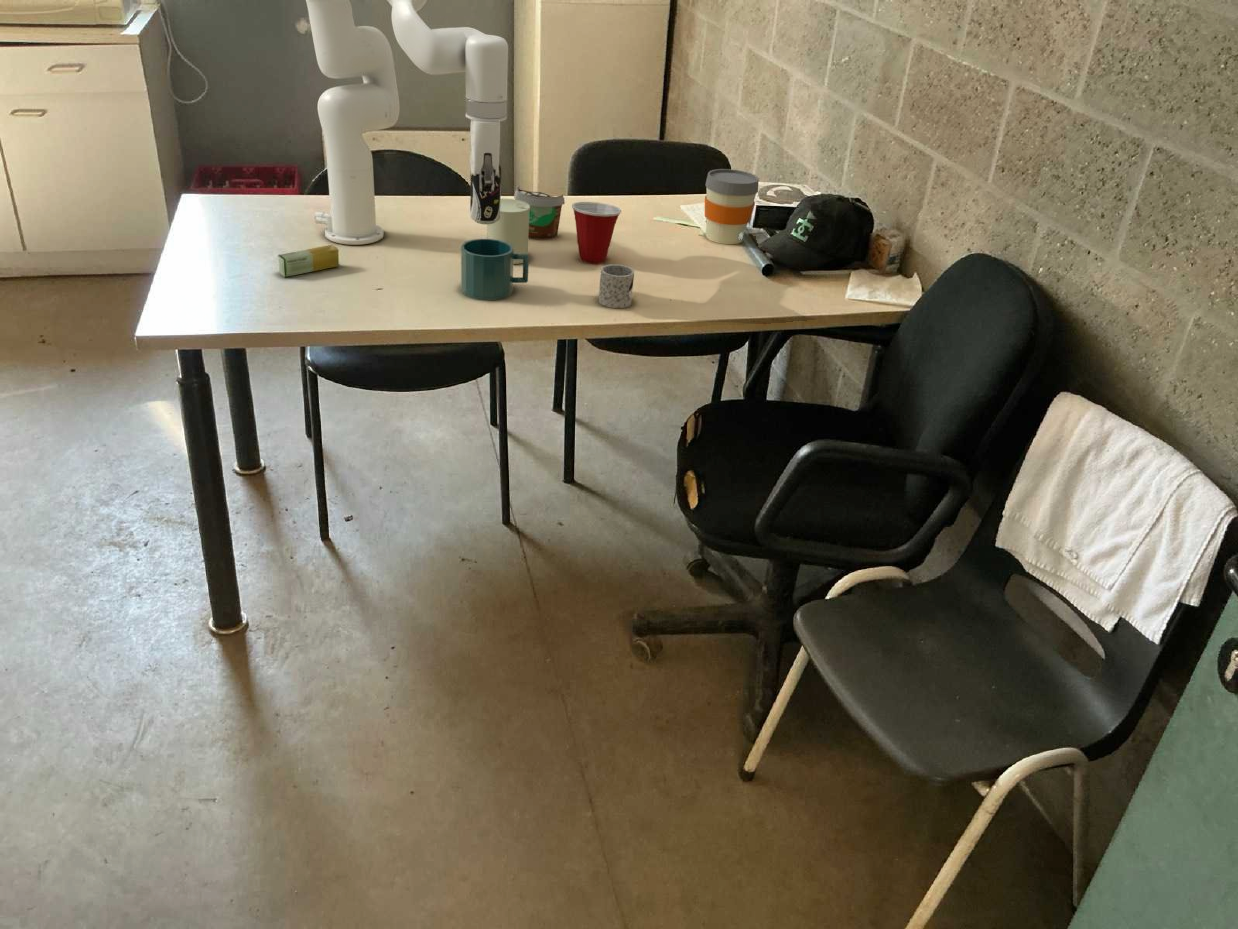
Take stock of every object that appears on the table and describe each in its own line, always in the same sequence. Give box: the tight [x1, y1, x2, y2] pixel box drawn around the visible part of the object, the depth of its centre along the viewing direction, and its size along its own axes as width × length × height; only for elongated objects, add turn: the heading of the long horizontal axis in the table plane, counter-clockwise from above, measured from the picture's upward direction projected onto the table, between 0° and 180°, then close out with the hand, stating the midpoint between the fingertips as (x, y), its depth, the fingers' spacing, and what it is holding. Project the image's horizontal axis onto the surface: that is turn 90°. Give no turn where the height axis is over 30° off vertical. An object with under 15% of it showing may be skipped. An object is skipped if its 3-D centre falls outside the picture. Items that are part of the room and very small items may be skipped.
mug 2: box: [598, 263, 635, 309], centre depth 195 cm, size 10×7×7 cm, turn 17°
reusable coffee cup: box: [704, 168, 760, 245], centre depth 232 cm, size 13×13×15 cm
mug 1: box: [460, 238, 530, 301], centre depth 193 cm, size 13×10×9 cm
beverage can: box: [469, 164, 502, 225], centre depth 184 cm, size 6×6×12 cm
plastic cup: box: [571, 201, 622, 265], centre depth 212 cm, size 11×11×12 cm
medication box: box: [277, 244, 340, 279], centre depth 195 cm, size 12×3×4 cm, turn 132°
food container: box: [513, 185, 566, 240], centre depth 223 cm, size 12×6×10 cm, turn 68°
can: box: [486, 198, 530, 265], centre depth 209 cm, size 9×9×12 cm
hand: (485, 207), depth 186 cm, fingers closed on beverage can, 3 cm apart
